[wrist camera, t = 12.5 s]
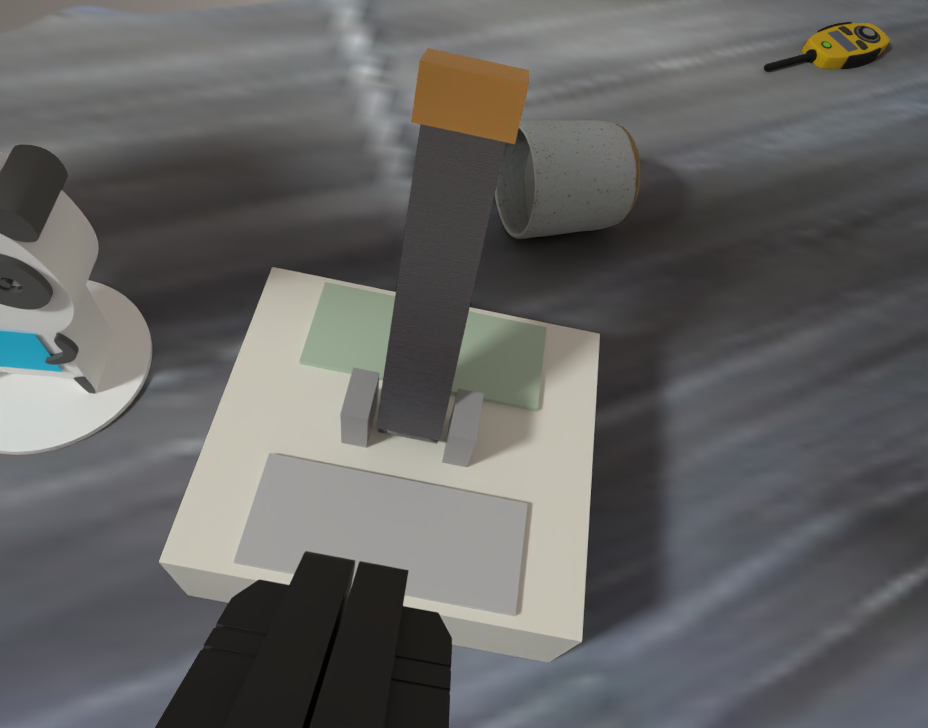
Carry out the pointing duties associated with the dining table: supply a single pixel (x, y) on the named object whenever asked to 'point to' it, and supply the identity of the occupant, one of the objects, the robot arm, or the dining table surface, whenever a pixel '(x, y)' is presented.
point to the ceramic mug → (567, 178)
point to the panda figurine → (58, 316)
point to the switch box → (401, 468)
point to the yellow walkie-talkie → (840, 47)
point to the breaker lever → (445, 231)
